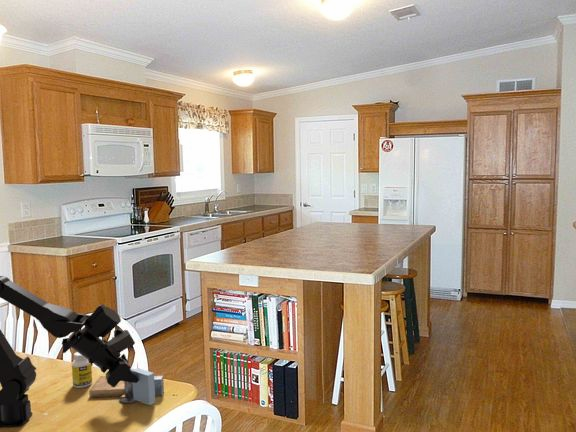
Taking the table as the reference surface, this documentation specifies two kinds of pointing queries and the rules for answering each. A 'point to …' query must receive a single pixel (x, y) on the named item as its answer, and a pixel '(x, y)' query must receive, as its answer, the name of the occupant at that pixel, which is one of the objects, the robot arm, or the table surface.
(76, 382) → the supplement bottle
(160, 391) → the bracket
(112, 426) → the table surface
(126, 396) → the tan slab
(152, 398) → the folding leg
